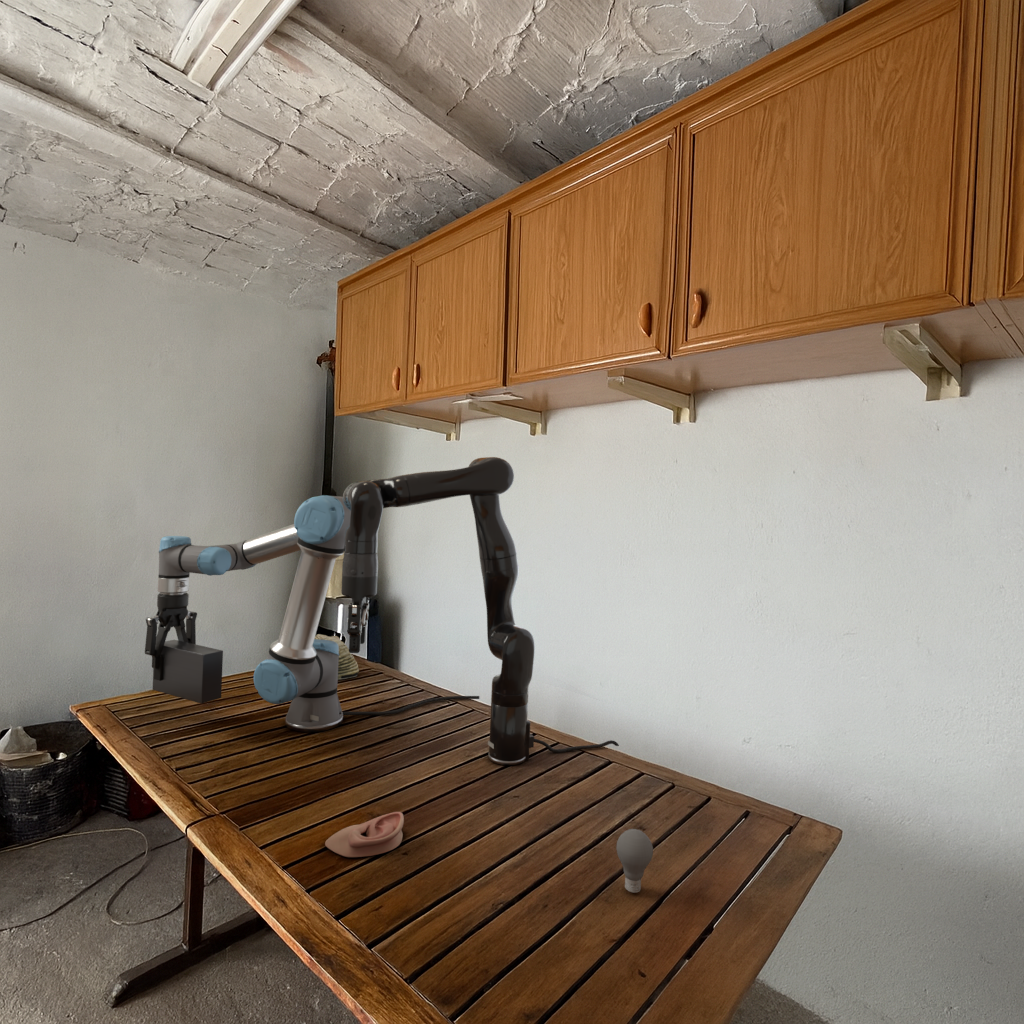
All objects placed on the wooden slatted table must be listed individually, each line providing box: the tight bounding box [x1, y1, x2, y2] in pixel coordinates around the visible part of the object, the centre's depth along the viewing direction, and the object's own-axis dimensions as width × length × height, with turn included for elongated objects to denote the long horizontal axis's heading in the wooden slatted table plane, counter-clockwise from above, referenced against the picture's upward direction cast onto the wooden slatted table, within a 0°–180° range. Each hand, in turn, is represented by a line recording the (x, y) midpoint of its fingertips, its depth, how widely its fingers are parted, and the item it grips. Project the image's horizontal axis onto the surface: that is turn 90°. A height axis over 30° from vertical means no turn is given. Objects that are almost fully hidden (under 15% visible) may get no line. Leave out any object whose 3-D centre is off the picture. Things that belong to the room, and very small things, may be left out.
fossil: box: [314, 633, 360, 681], centre depth 220 cm, size 9×18×15 cm, turn 132°
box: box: [152, 639, 224, 704], centre depth 170 cm, size 20×6×13 cm, turn 63°
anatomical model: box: [324, 811, 405, 858], centre depth 117 cm, size 13×4×12 cm
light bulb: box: [615, 828, 654, 894], centre depth 106 cm, size 6×6×10 cm
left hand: (169, 676), depth 173 cm, fingers closed on box, 6 cm apart
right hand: (357, 647), depth 137 cm, fingers open, 8 cm apart
